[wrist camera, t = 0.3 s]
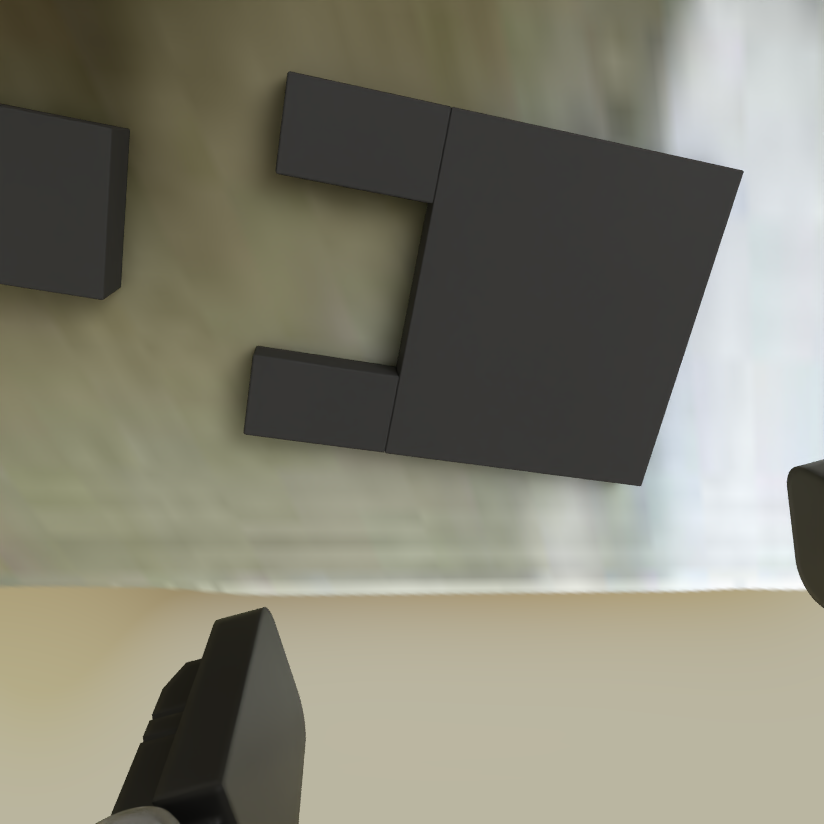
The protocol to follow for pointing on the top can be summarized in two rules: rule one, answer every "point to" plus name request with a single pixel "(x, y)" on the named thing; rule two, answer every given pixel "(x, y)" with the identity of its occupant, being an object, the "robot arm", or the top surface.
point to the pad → (61, 203)
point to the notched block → (504, 288)
